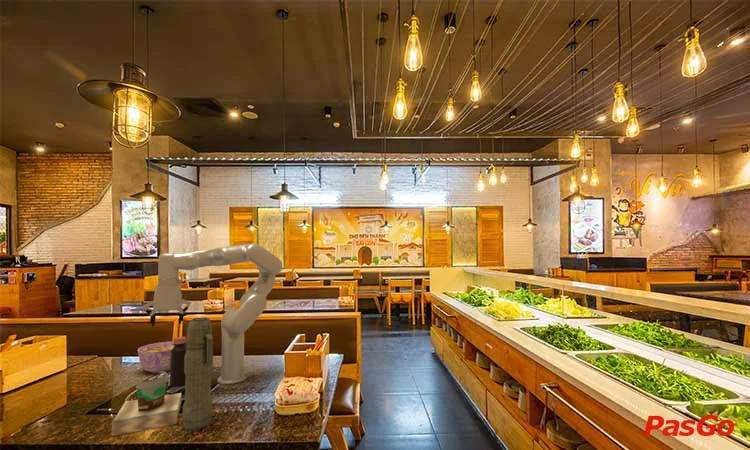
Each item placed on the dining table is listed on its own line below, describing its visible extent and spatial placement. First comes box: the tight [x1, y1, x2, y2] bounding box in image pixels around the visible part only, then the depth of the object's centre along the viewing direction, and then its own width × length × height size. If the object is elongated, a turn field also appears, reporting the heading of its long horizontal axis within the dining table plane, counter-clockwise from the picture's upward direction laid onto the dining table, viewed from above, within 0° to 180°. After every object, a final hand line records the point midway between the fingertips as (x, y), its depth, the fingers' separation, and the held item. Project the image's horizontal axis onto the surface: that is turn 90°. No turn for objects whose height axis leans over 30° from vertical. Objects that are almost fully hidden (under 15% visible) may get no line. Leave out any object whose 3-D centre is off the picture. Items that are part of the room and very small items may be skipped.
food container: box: [135, 371, 170, 411], centre depth 125 cm, size 12×6×10 cm, turn 176°
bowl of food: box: [136, 341, 174, 374], centre depth 175 cm, size 20×20×12 cm
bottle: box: [169, 336, 186, 387], centre depth 157 cm, size 7×7×20 cm
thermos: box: [181, 317, 214, 431], centre depth 120 cm, size 9×12×35 cm
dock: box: [111, 392, 182, 437], centre depth 124 cm, size 18×18×4 cm
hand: (167, 324), depth 147 cm, fingers open, 9 cm apart
